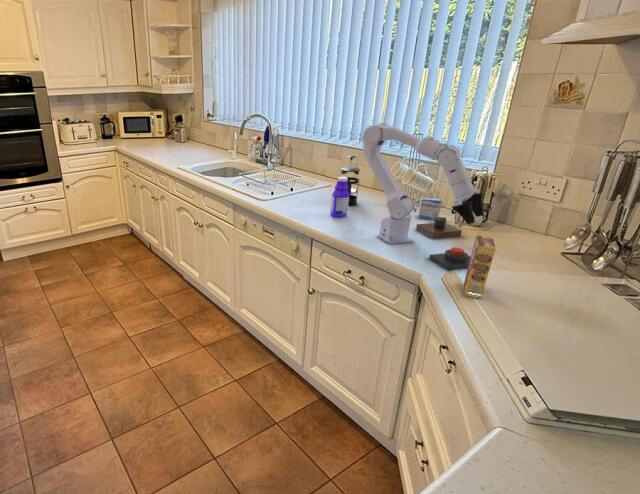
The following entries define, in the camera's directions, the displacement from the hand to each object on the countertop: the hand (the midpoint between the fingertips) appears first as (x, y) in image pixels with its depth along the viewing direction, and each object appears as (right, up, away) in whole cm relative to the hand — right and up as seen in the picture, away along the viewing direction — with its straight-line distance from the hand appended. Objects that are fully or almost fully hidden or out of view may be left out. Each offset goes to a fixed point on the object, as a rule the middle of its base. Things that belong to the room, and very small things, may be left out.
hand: (475, 219), depth 129 cm
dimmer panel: (+1, -4, +24) cm, 24 cm away
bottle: (-32, +4, +45) cm, 55 cm away
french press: (-23, +11, +64) cm, 68 cm away
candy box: (-12, -21, -18) cm, 30 cm away
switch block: (-8, -14, -1) cm, 16 cm away
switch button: (-8, -11, -2) cm, 14 cm away
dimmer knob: (+1, -2, +23) cm, 23 cm away
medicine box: (+5, +3, +41) cm, 41 cm away
